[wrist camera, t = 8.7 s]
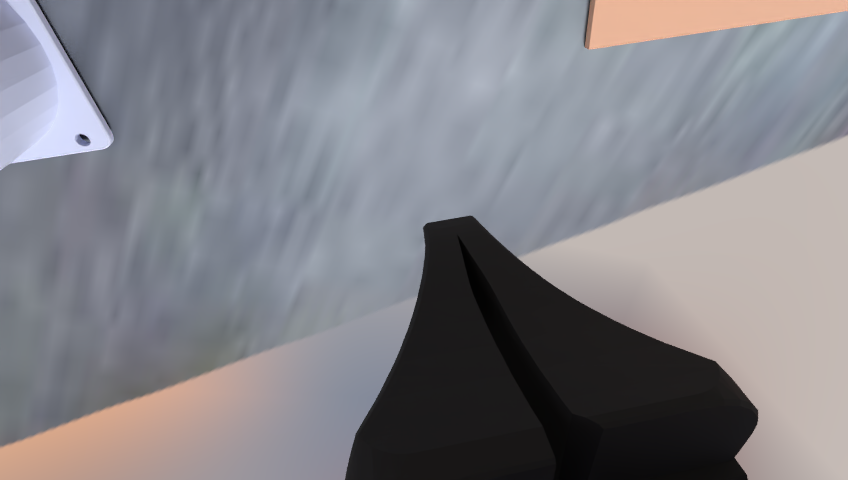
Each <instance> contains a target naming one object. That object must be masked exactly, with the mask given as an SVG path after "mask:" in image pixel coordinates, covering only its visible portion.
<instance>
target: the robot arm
mask: <svg viewBox="0 0 848 480" xmlns="http://www.w3.org/2000/svg"><path fill="white" fill-rule="evenodd" d="M79 134H83V135H85V136H87V137H88V138H89V139H90V142H86V141H84V140H83V139H82V138H81V137H80V135H79ZM113 139H114V136H113V134H112V132H111V130H110V128H109V126H108V125H107V123H106V121H105V119H104V118H103V116H102V114H101V113H100V111H99V109H98V107H97V106H96V104H95V102H94V101H93V99H92V97H91V95H90V94H89V92H88V90H87V89H86V87H85V85H84V83H83V82H82V80H81V78H80V76H79V75H78V73H77V71H76V70H75V68H74V66H73V64H72V63H71V61H70V59H69V58H68V56H67V54H66V52H65V51H64V49H63V47H62V46H61V44H60V42H59V40H58V39H57V37H56V35H55V34H54V32H53V30H52V28H51V27H50V25H49V23H48V21H47V20H46V18H45V16H44V15H43V13H42V11H41V9H40V8H39V6H38V4H37V3H36V1H35V0H0V170H2V169H3V168H4V167H5V166H7V165H8V164H10V163H16V162H23V161H29V160H36V159H42V158H49V157H55V156H62V155H68V154H75V153H81V152H88V151H94V150H101V149H105V148H107V147H108V146H109V145H110V144H111V143H112V142H113ZM423 230H424V238H425V259H424V267H423V274H422V280H421V284H420V289H419V293H418V298H417V302H416V305H415V309H414V312H413V316H412V319H411V322H410V325H409V328H408V331H407V333H406V336H405V339H404V341H403V344H402V346H401V349H400V351H399V354H398V356H397V358H396V360H395V363H394V365H393V367H392V369H391V371H390V373H389V375H388V377H387V379H386V381H385V383H384V385H383V387H382V389H381V391H380V393H379V395H378V397H377V399H376V401H375V402H374V404H373V406H372V407H371V409H370V411H369V412H368V414H367V416H366V418H365V419H364V421H363V423H362V424H361V426H360V428H359V429H358V431H357V433H356V435H355V440H354V443H353V447H352V450H351V454H350V458H349V463H348V467H347V472H346V478H345V480H748V479H747V475H746V473H745V472H744V470H743V469H742V468H741V466H740V465H739V464H738V462H737V461H736V459H735V458H734V457H735V456H736V455H737V453H738V452H739V451H740V449H741V448H742V447H743V445H744V444H745V443H746V441H747V440H748V438H749V437H750V436H751V434H752V433H753V431H754V429H755V427H756V425H757V422H758V410H757V409H756V408H755V406H754V405H753V404H752V403H751V401H750V400H749V399H748V398H747V397H746V395H745V394H744V393H743V392H742V390H741V389H740V388H739V387H738V385H737V384H736V383H735V382H734V381H733V379H732V378H731V377H730V376H729V375H728V374H727V373H726V372H725V371H724V370H723V369H722V368H721V367H720V366H719V365H718V364H717V363H716V362H715V361H713V360H710V359H707V358H705V357H702V356H699V355H696V354H694V353H691V352H688V351H685V350H683V349H680V348H677V347H675V346H672V345H669V344H666V343H664V342H661V341H659V340H656V339H654V338H652V337H649V336H647V335H645V334H642V333H640V332H638V331H636V330H633V329H631V328H629V327H627V326H625V325H623V324H620V323H618V322H616V321H614V320H612V319H610V318H608V317H607V316H605V315H603V314H601V313H599V312H597V311H595V310H593V309H591V308H589V307H588V306H586V305H584V304H582V303H580V302H579V301H577V300H575V299H574V298H572V297H570V296H569V295H567V294H566V293H564V292H562V291H561V290H559V289H558V288H556V287H555V286H553V285H552V284H551V283H549V282H548V281H546V280H545V279H543V278H542V277H541V276H540V275H538V274H537V273H536V272H534V271H532V270H531V269H530V268H529V267H528V266H526V265H525V264H524V263H523V262H522V261H520V260H519V259H518V258H517V257H516V256H514V255H513V254H512V253H511V252H510V251H509V250H507V249H506V248H505V247H504V246H503V245H502V244H501V243H500V242H499V241H498V240H496V239H495V238H494V237H493V236H492V235H491V234H490V233H489V232H488V231H487V230H486V229H485V228H484V227H483V226H482V225H481V224H480V223H479V222H478V221H477V220H476V219H475V218H474V217H473V216H466V217H460V218H454V219H448V220H443V221H437V222H431V223H427V224H426V225H425V226H424V227H423Z"/></svg>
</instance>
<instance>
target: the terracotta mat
mask: <svg viewBox="0 0 848 480" xmlns="http://www.w3.org/2000/svg"><path fill="white" fill-rule="evenodd" d="M843 11H848V0H591V1H590V9H589V17H588V25H587V33H586V41H585V48H587V49H596V48H603V47H609V46H616V45H623V44H629V43H636V42H643V41H649V40H656V39H663V38H669V37H676V36H683V35H689V34H696V33H703V32H709V31H716V30H723V29H729V28H736V27H743V26H749V25H756V24H763V23H769V22H776V21H783V20H789V19H796V18H803V17H809V16H816V15H823V14H829V13H836V12H843Z"/></svg>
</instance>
